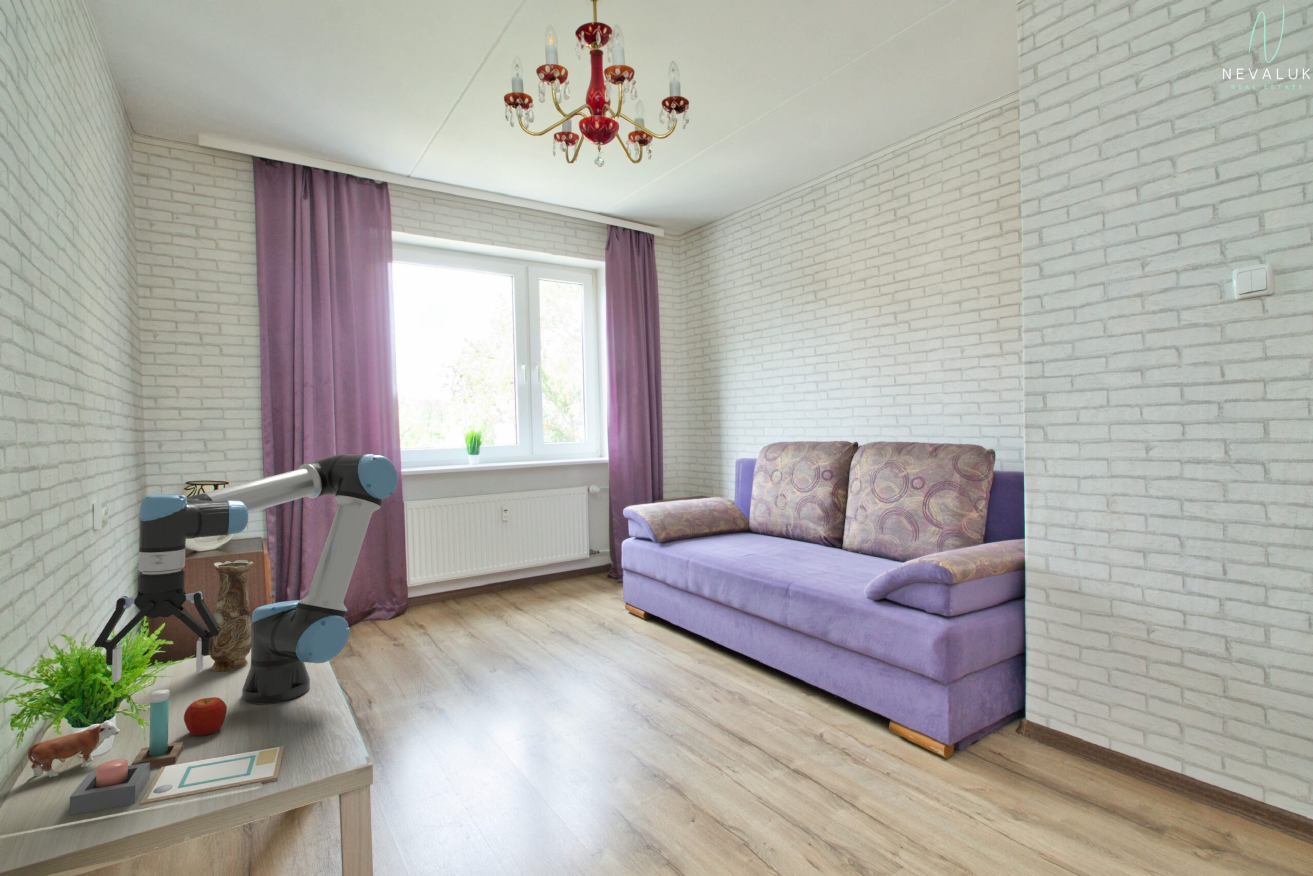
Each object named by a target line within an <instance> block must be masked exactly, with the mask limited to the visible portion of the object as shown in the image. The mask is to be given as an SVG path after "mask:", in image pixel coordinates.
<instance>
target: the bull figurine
mask: <svg viewBox="0 0 1313 876" xmlns="http://www.w3.org/2000/svg"><path fill="white" fill-rule="evenodd" d="M120 731H121V729H119V728H118V727H117V725H116V724H115V723H114V722H111V721H110V720H109V719H108V720H105V721H104V722H103V723H93V724H91V725H89V726H88V727H86V728H83V729H80V730H78V731H76V732H72V733H70V734H66V735H63V736H59V737H56V738H50V739H47V740H43V741H39V742H36V743H34V744H33V745H32V746H30V747H29V749H28V751H27V757H28V760H29V761H30V762H31V763H32V765H31V766H30V767H31V769H32V771H33V777H40V776H42V775H43V774H44V772H46V773H47V775H48V777H49V778H52V777H57V776H59V774H60V773H58V772H56V771H54V769H53V766H52V765H53V761H54V760H58V761H60V762H61V763H65V762H66V760H67V759H70V758H72V757H74V756H77V755H82V762H81V765H80V768H87V767H88V766H89V764H88V762H92V761H93V760H94V758H93V756H92V753H93V752H94V751H96V750H97V749H98V747H100V746H101V745H102V744H103V743H104V741H105V740H106V739H109V738H110V737H111V736H117V735H118V734H120Z"/></svg>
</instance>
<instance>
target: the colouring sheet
mask: <svg viewBox="0 0 1313 876" xmlns="http://www.w3.org/2000/svg"><path fill="white" fill-rule="evenodd" d="M284 752H285V745H282V746H276V747H269V748H265V749H259V750H254V751H253V750H252V751H247V752H246V751H245V752H240V753H236V754H235V753H234V754H229V755H223V756H218V757H212V758H205V759H199V760H194V761H188V762H182V763H175V764H170V765H165V766H160V769H158V772H157V774H156V776H155V778H154V779H153V781H152V783H151V784H150V787H149V788H148V790H147V792H146V793H145V795H144V796H143V798H142V800H141V802H140V805H145V804H150V803H156V802H161V801H166V800H171V799H177V798H182V797H186V796H192V795H197V794H203V793H204V794H205V793H208V792H215V791H219V790H220V791H221V790H224V789H230V788H235V787H240V786H247V785H251V784H257V783H261V784H266V783H270V782H271V783H272V782H276V781H278V779H279V775H280V769H281V765H282V760H283V755H284Z"/></svg>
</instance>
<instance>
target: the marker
mask: <svg viewBox="0 0 1313 876" xmlns="http://www.w3.org/2000/svg"><path fill="white" fill-rule="evenodd" d="M149 703H150V705H149V707H150V708H149V739H148V740H149V742H148V744H149V746H148V747H149V755H151V758H153V757H159V756H165V755H166V751H167V750H168V744H169V716H170V715H169V713H170V712H169V710H170V709H169V708H170V690H169V689H159V690H155V691H151V692H150V695H149Z"/></svg>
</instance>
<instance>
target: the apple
mask: <svg viewBox="0 0 1313 876" xmlns="http://www.w3.org/2000/svg"><path fill="white" fill-rule="evenodd" d="M227 708H228V706H227V704H226V703H225V701H224V700H223V699H222V698H220V697H216V696H215V697H205V698H199V699H197V700H194V701H193V702H192V703H191V704H190V705H189V706H188V707H187V708H186V709H185V712H184V715H183V721H184V724H185V726H186V729H187V731H188V732H189V733H190V734H191V735H193V736H196V737H197V736H198V737H199V736H200V737H201V736H208V735H211V734H215V733H216V732H218V731H219V730H221V728H222V726H223V725H224V722H225V720H226V717H227V716H226V715H227V711H228V710H227Z"/></svg>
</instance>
